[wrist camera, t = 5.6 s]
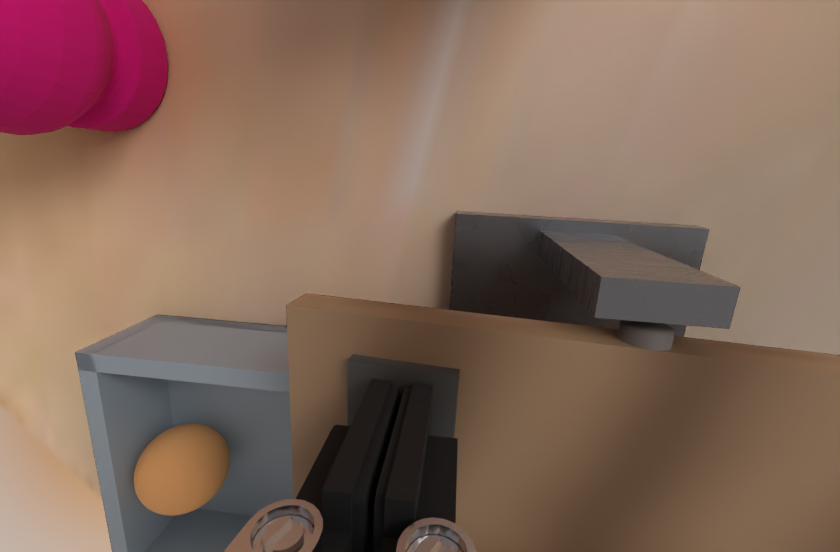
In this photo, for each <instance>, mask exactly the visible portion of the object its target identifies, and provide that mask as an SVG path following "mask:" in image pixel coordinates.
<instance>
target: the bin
mask: <svg viewBox="0 0 840 552" xmlns="http://www.w3.org/2000/svg"><path fill="white" fill-rule="evenodd" d="M75 355H76V360H77V365H78V371H79V376H80V382H81V387H82V392H83V398H84V403H85V408H86V414H87V419H88V425H89V430H90V435H91V441H92V446H93V451H94V457H95V462H96V467H97V473H98V478H99V484H100V489H101V494H102V500H103V505H104V510H105V515H106V521H107V526H108V532H109V537H110V543H111V548H112V552H224V551H225V549H226V548H227V547H228V546H229V544H230V543H231V542H232V541H233V539H234V538H235V537H236V536H237V535H238V533H239V532H240V531H241V530H242V528H243V527H244V526H245V525H246V523H247V522H248V521H249V520H250V519H251V518H252V517H253V516H254V515H255V514H256V513H257V512H258V511H259V510H261V509H263V508H264V507H266V506H268V505H269V504H272V503H275V502H277V501H280V500H287V499H293V474H292V447H291V421H290V394H289V367H288V340H287V326H278V325H267V324H256V323H245V322H234V321H222V320H211V319H200V318H189V317H178V316H167V315H155V316H153V317H151V318H149V319H146V320H144V321H142V322H140V323H138V324H136V325H133V326H131V327H129V328H127V329H125V330H123V331H120V332H118V333H116V334H114V335H112V336H110V337H107V338H105V339H103V340H101V341H99V342H97V343H94V344H92V345H90V346H88V347H86V348H84V349H81V350H79V351H77V352H75ZM193 423H194V424H202V425H206V426H209V427H211V428H213V429H214V430H216V431H217V432H218V433H219V434H221V436H222V437H223V438H224V440H225V441H226V443H227V446H228V448H229V453H230V465H229V471H228V474H227V477H226V479H225V481H224V483H223V485H222V486H221V488H220V490H219V491H218V492H217V493H216V494H215V495H214V497H213V498H212V499H210V500H209V501H208V502H207V503H205V504H204V505H203V506H201V507H200V508H198V509H196V510H194V511H191V512H188V513H185V514H181V515H171V516H169V515H162V514H158V513H155V512H153V511H151V510H149V509H148V508H146V507H145V506H144V505H143V504H142V503H141V501H140V500H139V498H138V497H137V494H136V492H135V488H134V471H135V467H136V464H137V461H138V459H139V457H140V455H141V453H142V452H143V450H144V449H145V448H146V446H147V445H148V444H149V443H150V442H151V441H152V440H153V439H154V438H156V437H157V436H158V435H159V434H161V433H163V432H164V431H166V430H168V429H170V428H172V427H175V426H178V425H182V424H193Z"/></svg>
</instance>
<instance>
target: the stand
mask: <svg viewBox="0 0 840 552" xmlns="http://www.w3.org/2000/svg"><path fill="white" fill-rule="evenodd" d="M708 232H709V229H707V228H702V227H698V226H690V225H673V224H657V223H640V222H624V221H607V220H591V219H574V218H558V217H542V216H525V215H509V214H492V213H476V212H459V211H457V213H456V227H455V240H454V254H453V268H452V281H451V295H450V309H449V310H454V311H463V312H471V313H480V314H488V315H497V316H506V317H514V318H523V319H532V320H540V321H549V322H557V323H566V324H575V325H583V326H592V327H601V328H609V329H618V330H619V326H620V321H621V320H628V321H640V322H652V323H664V324H666V325H668V326H670V327H672V328H673V329H674V330H675V334H674V336H678V337H684V333H685V329H686V325H689V326H701V327H713V328H726V329H729V328H730V324H731V321H732V317H733V313H734V309H735V306H736V302H737V298H738V294H739V291H740V287H739V286H737V285H734V284H732V283H729V282H727V281H724V280H722V279H720V278H717V277H715V276H712V275H710V274H707V273H705V272H703V271H700V266H701V261H702V257H703V253H704V249H705V244H706V240H707V236H708Z"/></svg>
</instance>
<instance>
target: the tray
mask: <svg viewBox="0 0 840 552" xmlns="http://www.w3.org/2000/svg"><path fill="white" fill-rule="evenodd" d="M286 314H287V340H288V367H289V394H290V421H291V447H292V474H293V499H296V497H297V495H298V493H299V491H300V489H301V487H302V485H303V483H304V481H305V480H306V478H307V476H308V474H309V472H310V470H311V468H312V466H313V464H314V462H315V460H316V458H317V456H318V455H319V453H320V451H321V449H322V447H323V445H324V443H325V441H326V439H327V437H328V435H329V433H330V431H331V429H332V428H333V426H334V425H345V426H351V424H352V422H353V419H354V417H355V415H356V413H357V411H358V408H359V406H360V404H361V402H362V399H363V397H364V395H365V393H366V391H367V388H368V386H369V384H370V382H371V380H372V379H381V380H391V381H392V382H393V386H397V387H399V407H400V403H401V400H402V396H403V393H404V389H405V387H406V388H412V386H413V383H420V384H430V385H433V399H432V414H431V429H430V435H432V436H441V437H450V438H458V449H457V485H456V522H455V524H457V525H458V526H460V527H461V528H462V529H463V530H465V531H466V533H467V534H468V535H469V537H470V538H471V539H472V541H473V544H474V546H475V549H476V552H840V355H834V354H825V353H816V352H808V351H799V350H790V349H782V348H773V347H764V346H756V345H747V344H739V343H730V342H721V341H713V340H704V339H695V338H687V337H678V336H674V334H675V330H674V329H673V328H672V327H670V326H668V325H666V324H664V323H652V322H640V321H628V320H621V321H620V326H619V330H618V329H609V328H601V327H592V326H583V325H575V324H566V323H557V322H549V321H540V320H532V319H523V318H514V317H506V316H497V315H488V314H480V313H471V312H463V311H454V310H445V309H437V308H428V307H419V306H411V305H402V304H394V303H385V302H376V301H368V300H359V299H350V298H342V297H333V296H325V295H316V294H307V293H306V294H305V295H303V296H301V297H299V298H298V299H296V300H294V301H293V302H291V303H289V304H288V305H286Z"/></svg>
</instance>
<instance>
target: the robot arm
mask: <svg viewBox="0 0 840 552" xmlns="http://www.w3.org/2000/svg"><path fill="white" fill-rule="evenodd" d="M432 399H433V385H430V384H420V383H413V386H412V388H406V387H405V389H404V393H403V396H402V400H401V403H400V407H399V387H397V386H393V382H392V381H391V380H381V379H372V380H371V382H370V384H369V386H368V388H367V391H366V393H365V395H364V397H363V399H362V402H361V404H360V406H359V408H358V411H357V413H356V415H355V417H354V419H353V422H352V424H351V426H345V425H334V426H333V428H332V429H331V431H330V433H329V435H328V437H327V439H326V441H325V443H324V445H323V447H322V449H321V451H320V453H319V455H318V456H317V458H316V460H315V462H314V464H313V466H312V468H311V470H310V472H309V474H308V476H307V478H306V480H305V481H304V483H303V485H302V487H301V489H300V491H299V493H298V495H297V497H296V499H287V500H280V501H277V502H275V503H272V504H269V505H268V506H266V507H264V508H263V509H261V510H259V511H258V512H257V513H256V514H255V515H254V516H253V517H252V518H251V519H250V520H249V521H248V522H247V523H246V525H245V526H244V527H243V528H242V530H241V531H240V532H239V533H238V535H237V536H236V537H235V538H234V539H233V541H232V542H231V543H230V544H229V546H228V547H227V548H226V549H225V551H224V552H476V549H475V546H474V544H473V541H472V539H471V538H470V537H469V535H468V534H467V533H466V531H465V530H463V529H462V528H461V527H460V526H458V525H457V524H455V522H456V485H457V449H458V438H450V437H441V436H432V435H430V429H431V414H432Z"/></svg>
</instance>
